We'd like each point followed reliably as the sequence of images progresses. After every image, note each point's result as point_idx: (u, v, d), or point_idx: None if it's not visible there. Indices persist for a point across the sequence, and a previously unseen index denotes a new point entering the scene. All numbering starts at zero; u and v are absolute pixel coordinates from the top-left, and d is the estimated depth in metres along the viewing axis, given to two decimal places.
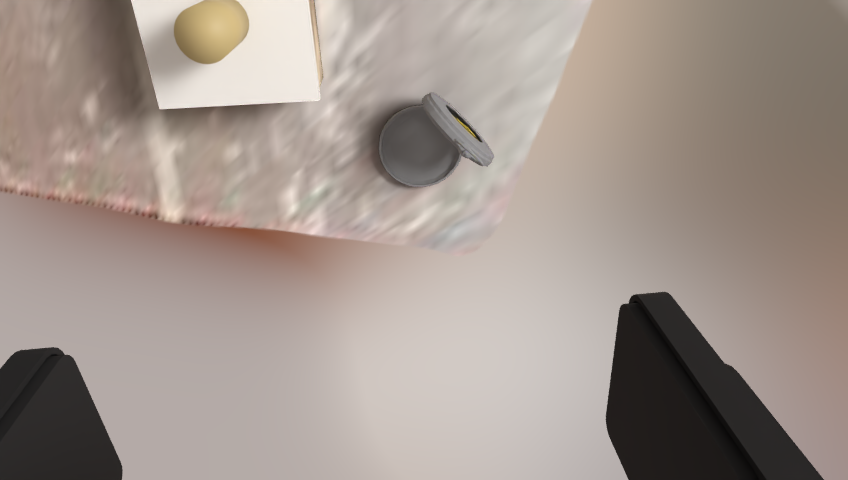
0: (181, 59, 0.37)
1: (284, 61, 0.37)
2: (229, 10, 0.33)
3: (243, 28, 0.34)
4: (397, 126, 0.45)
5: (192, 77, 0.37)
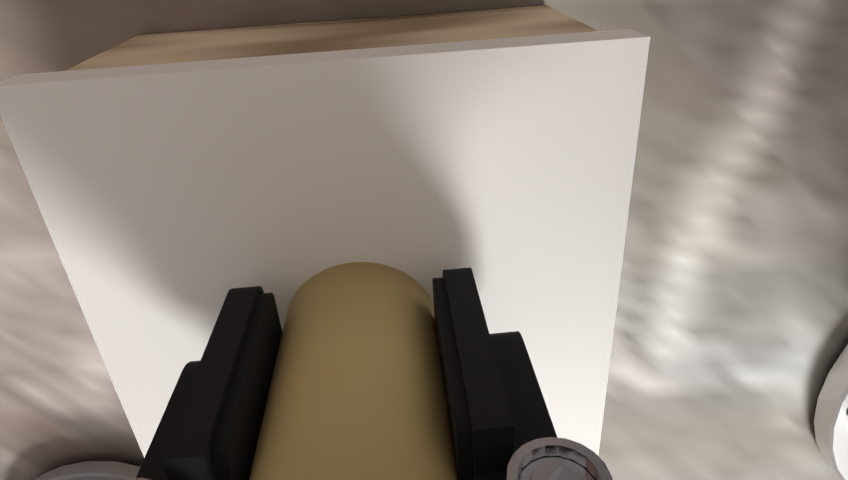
0: (220, 196, 0.10)
1: None
2: None
3: None
4: None
5: (160, 223, 0.10)
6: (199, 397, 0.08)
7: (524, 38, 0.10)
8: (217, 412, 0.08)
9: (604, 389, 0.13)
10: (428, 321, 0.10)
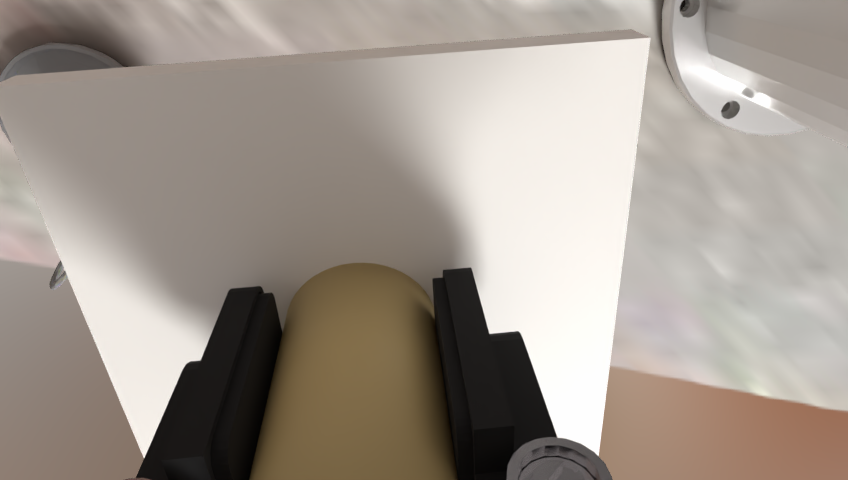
0: (220, 197, 0.10)
1: None
2: None
3: None
4: None
5: (160, 223, 0.10)
6: (199, 397, 0.08)
7: (524, 39, 0.10)
8: (217, 412, 0.08)
9: (604, 390, 0.13)
10: (428, 322, 0.10)
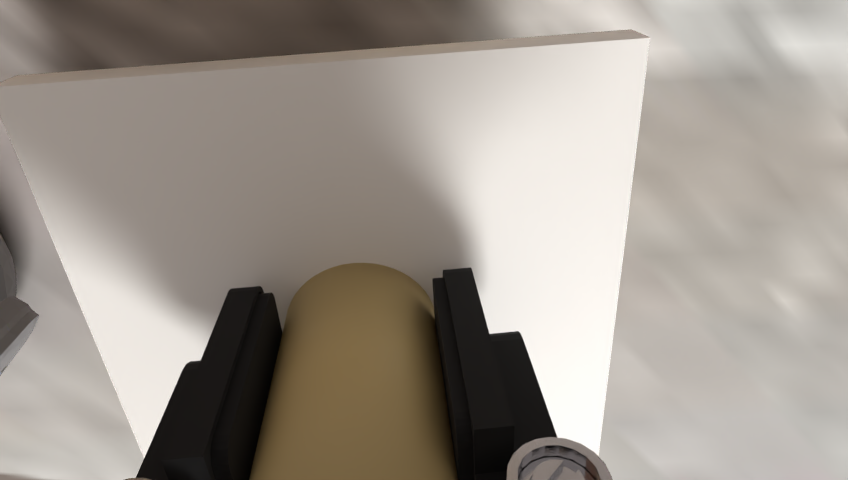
0: (220, 197, 0.10)
1: None
2: None
3: None
4: None
5: (160, 224, 0.10)
6: (199, 397, 0.08)
7: (524, 39, 0.10)
8: (217, 411, 0.08)
9: (604, 390, 0.13)
10: (428, 322, 0.10)
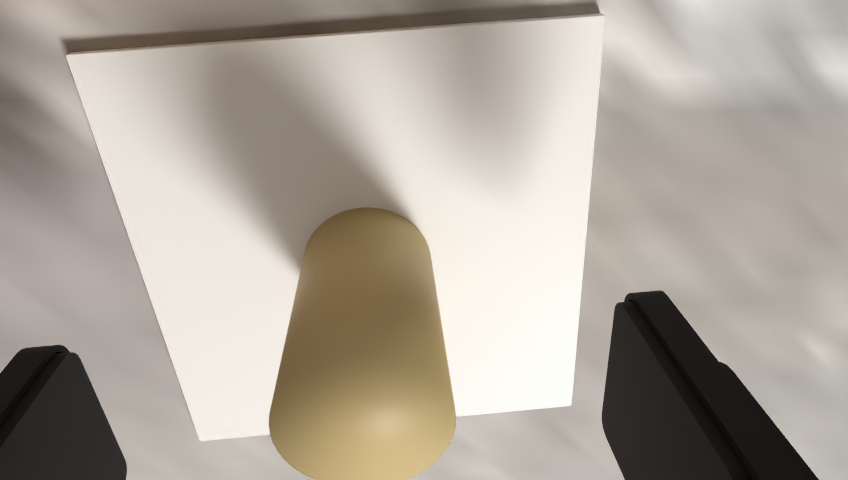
0: (251, 149, 0.12)
1: None
2: None
3: None
4: None
5: (200, 172, 0.12)
6: None
7: None
8: None
9: (576, 325, 0.15)
10: (423, 254, 0.13)
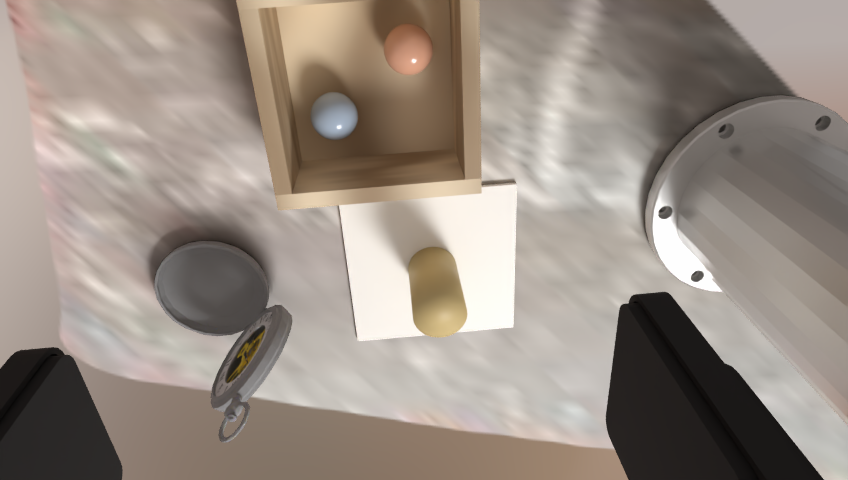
0: (394, 227, 0.35)
1: (395, 314, 0.38)
2: None
3: None
4: (235, 259, 0.35)
5: (375, 234, 0.35)
6: None
7: None
8: None
9: (513, 292, 0.38)
10: (454, 264, 0.35)
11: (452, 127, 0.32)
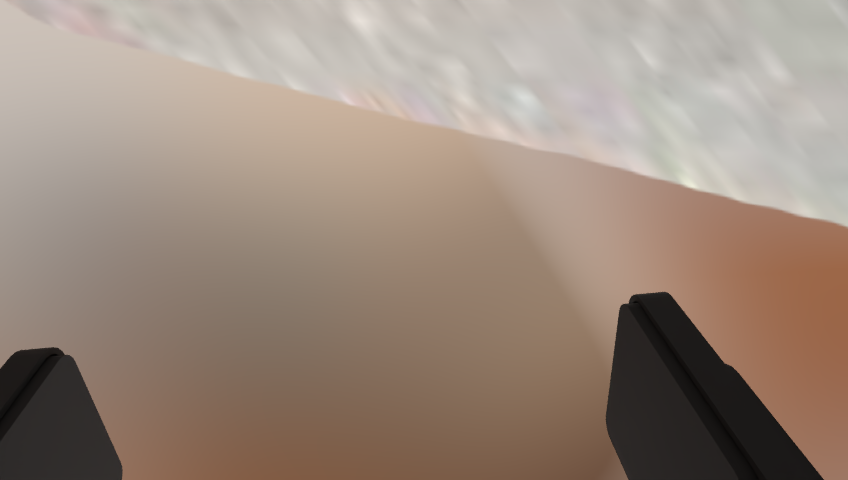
0: None
1: None
2: None
3: None
4: None
5: None
6: None
7: None
8: None
9: None
10: None
11: None
